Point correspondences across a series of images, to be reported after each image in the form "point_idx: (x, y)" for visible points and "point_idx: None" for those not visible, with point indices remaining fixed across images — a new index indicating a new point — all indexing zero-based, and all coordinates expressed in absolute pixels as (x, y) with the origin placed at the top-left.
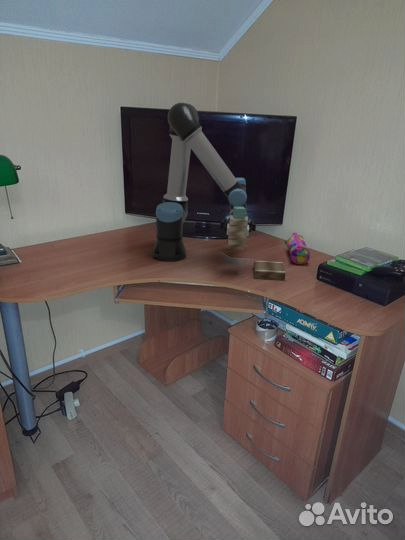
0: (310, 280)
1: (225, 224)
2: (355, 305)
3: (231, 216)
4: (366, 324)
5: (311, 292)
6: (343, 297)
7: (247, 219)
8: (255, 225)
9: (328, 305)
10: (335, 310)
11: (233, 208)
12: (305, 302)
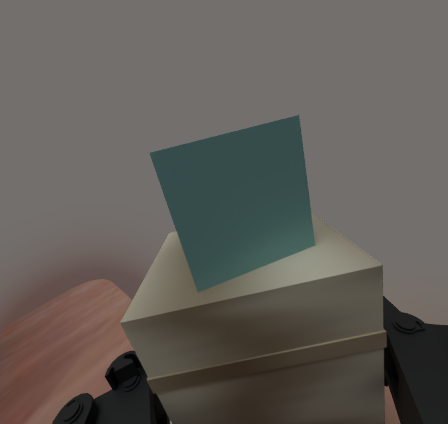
0: None
1: (403, 320)
2: (35, 338)
3: (325, 239)
4: (79, 291)
5: (73, 370)
6: (20, 367)
7: (166, 242)
8: (71, 401)
9: (86, 322)
10: (89, 310)
11: (296, 142)
12: (121, 319)
